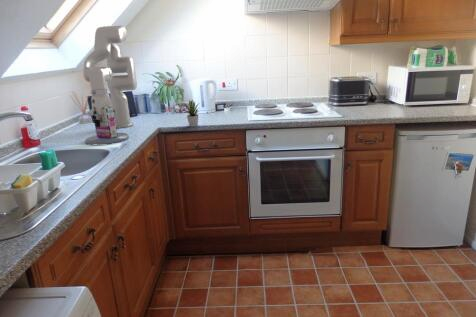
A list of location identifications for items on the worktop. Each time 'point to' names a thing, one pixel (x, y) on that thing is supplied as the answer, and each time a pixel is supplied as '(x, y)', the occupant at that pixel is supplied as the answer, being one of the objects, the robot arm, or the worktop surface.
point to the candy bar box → (107, 124)
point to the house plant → (192, 113)
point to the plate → (107, 139)
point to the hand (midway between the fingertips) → (105, 124)
